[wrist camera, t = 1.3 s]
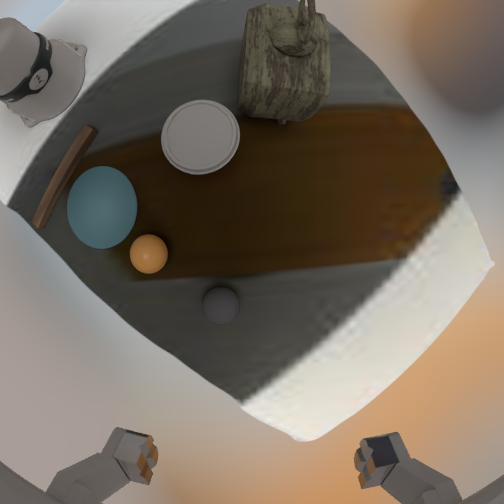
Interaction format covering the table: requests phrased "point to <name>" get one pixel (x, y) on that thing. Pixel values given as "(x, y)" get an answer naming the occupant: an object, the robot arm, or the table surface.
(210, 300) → the dark gray ball
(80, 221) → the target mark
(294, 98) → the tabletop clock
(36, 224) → the stopper wall
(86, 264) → the table surface
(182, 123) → the disposable coffee cup
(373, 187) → the table surface
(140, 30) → the table surface
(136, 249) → the orange ball
